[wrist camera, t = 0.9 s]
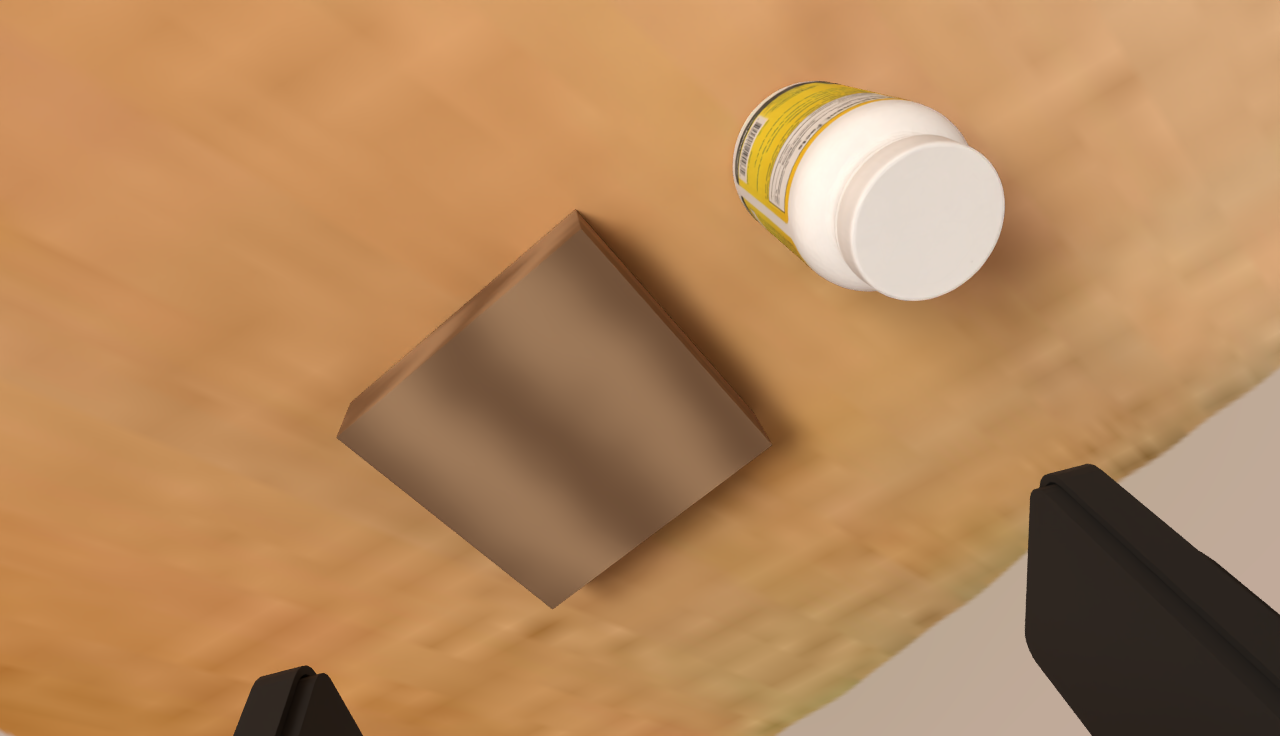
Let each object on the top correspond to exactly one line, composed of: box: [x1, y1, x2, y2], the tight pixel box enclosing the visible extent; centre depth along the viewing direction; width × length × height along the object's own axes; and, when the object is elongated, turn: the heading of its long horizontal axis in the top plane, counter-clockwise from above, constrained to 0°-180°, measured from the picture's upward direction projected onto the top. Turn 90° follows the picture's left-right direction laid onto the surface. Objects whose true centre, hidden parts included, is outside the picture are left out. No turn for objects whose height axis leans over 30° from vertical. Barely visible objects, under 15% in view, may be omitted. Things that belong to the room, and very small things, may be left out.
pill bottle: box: [733, 81, 1005, 301], centre depth 27 cm, size 6×6×11 cm
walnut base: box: [336, 209, 772, 609], centre depth 34 cm, size 13×13×3 cm
